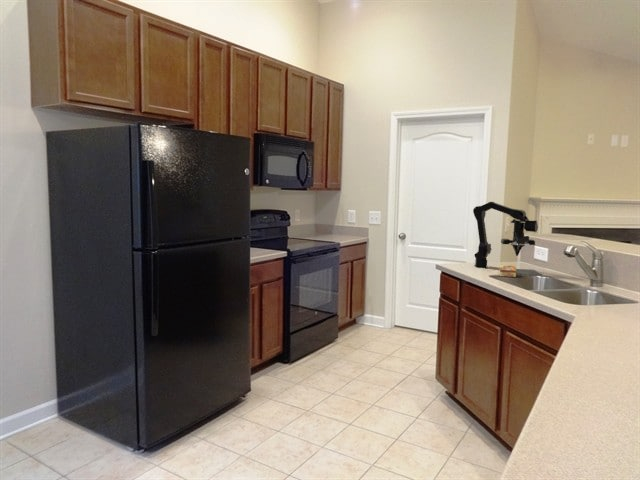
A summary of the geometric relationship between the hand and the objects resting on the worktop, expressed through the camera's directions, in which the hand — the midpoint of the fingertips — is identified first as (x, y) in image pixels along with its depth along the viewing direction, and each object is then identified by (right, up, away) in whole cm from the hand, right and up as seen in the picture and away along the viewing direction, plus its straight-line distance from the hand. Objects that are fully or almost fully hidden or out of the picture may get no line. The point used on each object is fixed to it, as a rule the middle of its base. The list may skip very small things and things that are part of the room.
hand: (516, 255), depth 290 cm
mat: (+5, -10, +1) cm, 12 cm away
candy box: (-6, -8, 0) cm, 10 cm away
